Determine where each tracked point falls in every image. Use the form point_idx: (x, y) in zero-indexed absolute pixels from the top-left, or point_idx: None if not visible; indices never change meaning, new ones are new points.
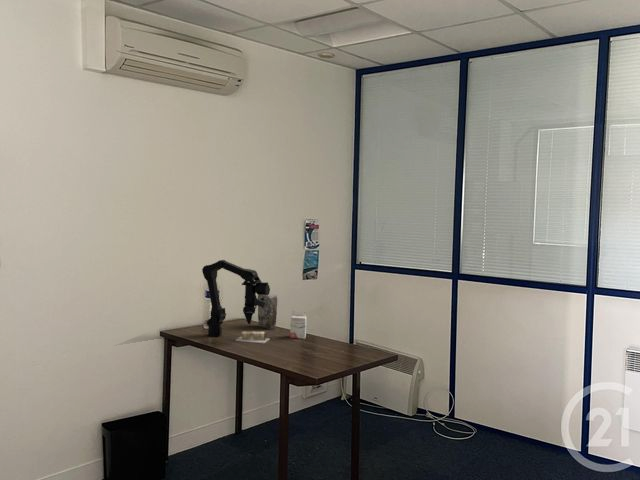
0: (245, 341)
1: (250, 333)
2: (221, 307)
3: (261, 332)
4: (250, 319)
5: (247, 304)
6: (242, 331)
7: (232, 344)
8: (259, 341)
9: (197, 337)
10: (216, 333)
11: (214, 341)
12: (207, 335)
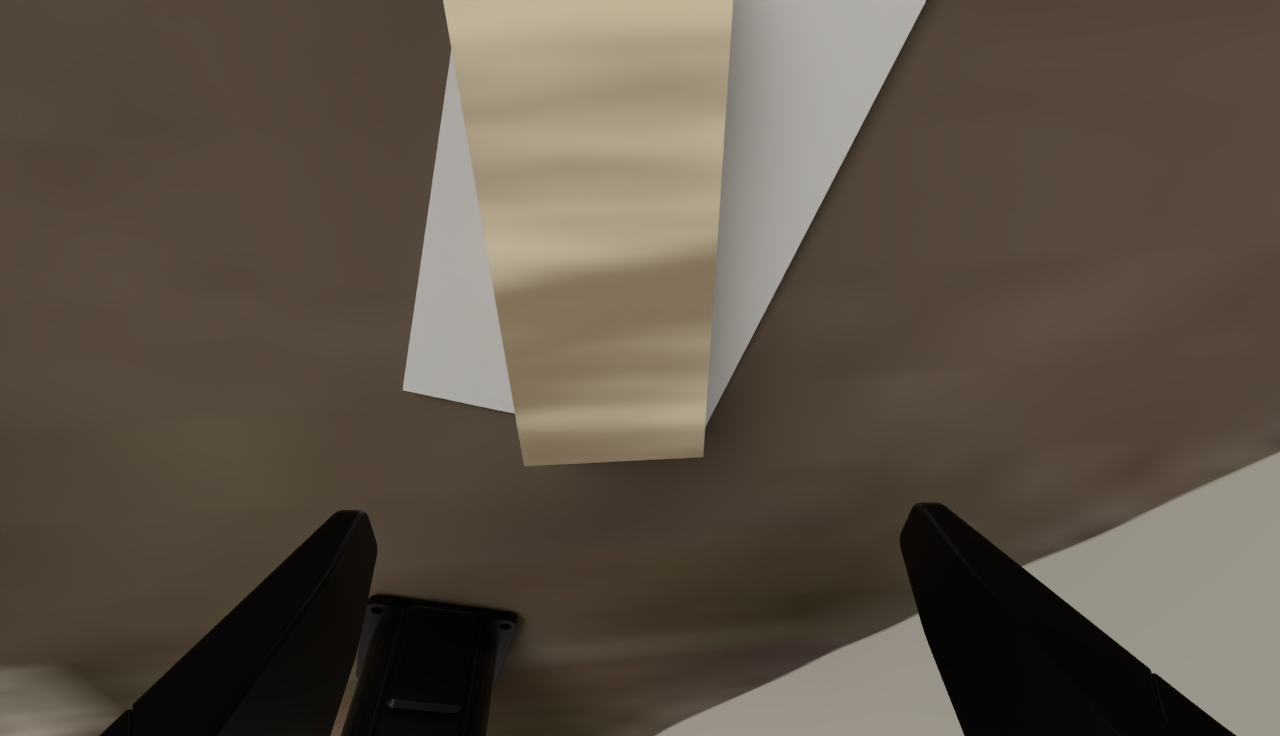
0: (757, 314)
1: (705, 310)
2: None
3: (565, 26)
4: (1094, 645)
5: None
6: (526, 455)
7: (898, 455)
8: (837, 50)
9: (551, 720)
10: (482, 660)
11: (719, 611)
12: (492, 688)
